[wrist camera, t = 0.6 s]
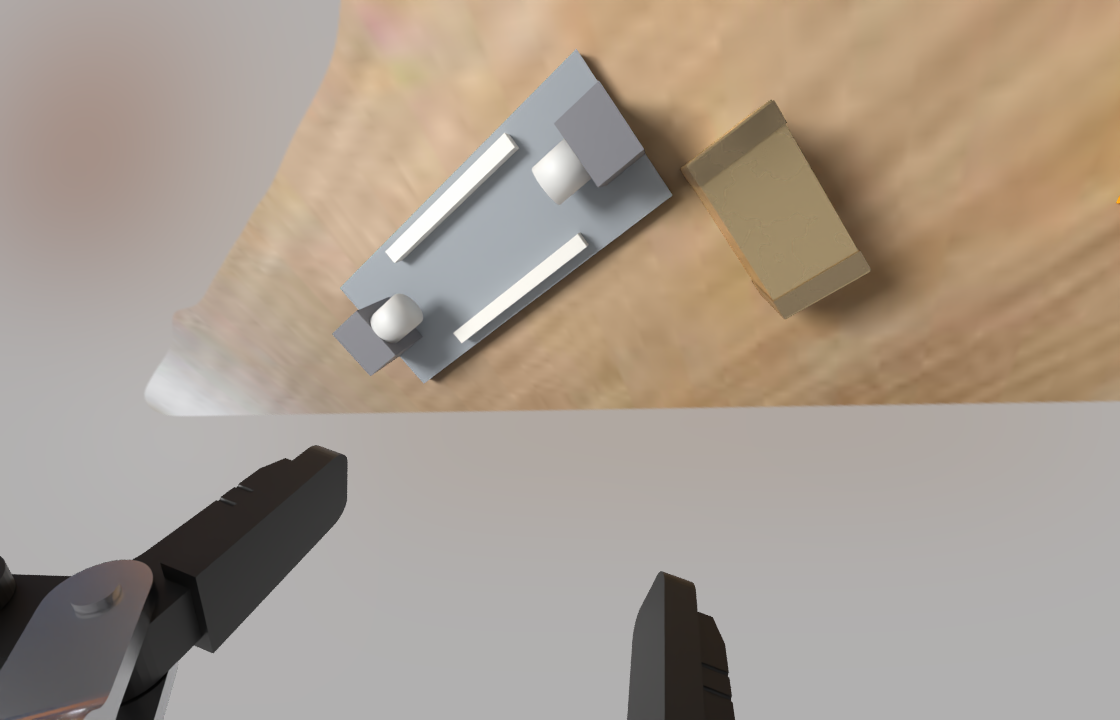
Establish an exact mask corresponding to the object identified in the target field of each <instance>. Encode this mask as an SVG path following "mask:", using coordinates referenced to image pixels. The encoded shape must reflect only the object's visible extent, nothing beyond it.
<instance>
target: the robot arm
mask: <svg viewBox="0 0 1120 720" xmlns="http://www.w3.org/2000/svg"><path fill="white" fill-rule="evenodd" d="M346 502H347V457H346V456H345V455H343V454H340V453H337V452H335V451H332V450H329V449H326V448H324V447H321V446H317V445H315V446H312V447H310V448H308V449H307V450H305V451H304V452H303V453H302V454H300V455H299V456H298V457H296V458H295V459H294V460H292V461H291V460H289V459H286V458H285V459H283V460H280V461H277V462H275V463H272V464H270V465H268V466H265V467H262V468H260V469H259V470H257V471H256V472H255V473H253V474H252V475H250V476H249V477H248V478H246V479H245V480H243V481H242V482H241V483H239V485H238V487H237V488H235V487H234V488H233V489H231V490H230V491H228V492H227V493H226V494H224V495H223V496H221V498H220V500H219V501H215V502H213V503H212V504H211V505H209V506H208V507H206V508H205V509H204V510H202V511H201V512H199V513H198V514H197V515H195V516H194V517H193V518H191V519H190V520H189V521H187V522H186V523H185V524H183V525H182V526H180V527H179V528H178V529H176V530H175V531H173V532H172V533H171V534H169V535H168V536H167V537H165V538H164V539H163V540H161V541H160V542H158V543H157V544H156V545H154V546H153V547H151V548H150V549H149V550H147V551H146V552H144V553H143V554H142V555H140V556H138V557H136V558H135V559H133V560H115V561H109V562H105V563H101V564H98V565H95V566H92V567H90V568H87V569H85V570H83V571H81V572H79V573H76V574H75V575H73V576H46V575H16V574H11V572H10V570H9V568H8V567H7V565H6V563H5V561H4V559H3V558H2V557H1V556H0V720H163V719H164V715H165V711H166V708H167V704H168V701H169V697H170V694H171V690H172V687H173V683H174V680H175V676H176V673H177V669H178V661H179V660H180V659H181V658H182V657H183V656H184V655H185V654H186V653H187V651H189V650H190V649H191V648H192V646H194V645H195V646H197V647H200V648H202V649H204V650H206V651H209V652H211V653H214V652H215V651H216V650H217V649H218V648H219V647H220V646H221V645H222V643H223V642H224V641H225V640H226V639H227V638H228V637H229V636H230V635H231V634H232V633H233V632H234V631H235V630H236V629H237V628H238V626H239V625H240V624H241V623H242V622H243V621H244V620H245V619H246V618H247V617H248V616H249V615H250V614H251V613H252V612H253V611H254V609H255V608H256V607H257V606H258V605H259V604H260V603H261V602H262V601H263V600H264V599H265V598H266V597H267V596H268V595H269V594H270V592H271V591H272V590H273V589H274V588H275V587H276V586H277V585H278V584H279V583H280V582H281V581H282V580H283V579H284V577H285V576H286V575H287V574H288V573H289V572H290V571H291V570H292V569H293V568H294V567H295V566H296V565H297V564H298V563H299V562H300V561H301V560H302V558H303V557H304V556H305V555H306V554H307V553H308V552H309V551H310V550H311V549H312V548H313V547H314V546H315V545H316V544H317V542H318V541H319V540H320V539H321V538H322V537H323V536H324V535H325V534H326V533H327V532H328V531H329V530H330V529H331V528H332V527H333V525H334V524H335V523H336V522H337V521H338V519H339V518H340V516H341V514H342V513H343V510H344V508H345V505H346ZM728 673H729V672H728V663H727V657H726V648H725V643H724V641H723V639H722V637H721V634H720V632H719V630H718V628H717V626H716V624H715V621H714V619H713V617H711V616H708V615H705V614H703V613H700V612H697V600H696V589H695V585H694V583H692V582H690V581H687V580H685V579H682V578H679V577H676V576H673V575H670V574H668V573H665V572H662V571H661V572H659V573H658V575H657V577H656V579H655V581H654V583H653V585H652V587H651V589H650V590H649V592H648V594H647V596H646V598H645V600H644V602H643V604H642V606H641V608H640V610H639V613H638V615H637V619H636V622H635V627H634V632H633V641H632V657H631V671H630V686H629V702H628V716H627V720H735V717H734V709H733V703H732V702H731V697H732V694H731V686H730V679H729V678H728Z"/></svg>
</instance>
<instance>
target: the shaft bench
mask: <svg viewBox="0 0 1120 720" xmlns="http://www.w3.org/2000/svg"><path fill="white" fill-rule="evenodd" d="M671 196H672V194H671V192H670V191H669V189H668V188H667V186H666V185H665V183H664V181H663V180H662V178H661V177H660V175H659V174H658V172H657V171H656V169H655V168H654V166H653V165H652V163H651V162H650V160H649V159H648V157H647V156H646V154H645V151H644V148H643V147H642V145H641V144H640V142H639V141H638V139H637V138H636V136H635V134H634V133H633V131H632V130H631V128H630V127H629V125H628V124H627V122H626V121H625V119H624V118H623V116H622V115H621V113H620V112H619V110H618V109H617V107H616V106H615V104H614V102H613V101H612V99H611V98H610V96H609V95H608V93H607V92H606V90H605V89H604V87H603V86H602V84H601V83H600V81H597V79H596V78H595V76H594V75H593V73H592V72H591V70H590V69H589V67H588V66H587V64H586V63H585V61H584V60H583V58H582V57H581V55H580V54H579V52H578V51H577V49H576V50H575V51H574V52H573V53H572V54H571V55H570V56H569V57H568V58H567V59H566V60H565V61H564V62H563V63H562V64H561V65H560V66H559V67H558V68H557V69H556V70H555V71H554V72H553V73H552V74H551V75H550V76H549V77H548V78H547V79H546V80H545V81H544V82H543V83H542V84H541V85H540V86H539V87H538V88H537V89H536V90H535V91H534V92H533V93H532V94H531V95H530V96H529V97H528V98H527V99H526V100H525V101H524V102H523V103H522V104H521V105H520V106H519V107H518V108H517V109H516V110H515V111H514V112H513V113H512V114H511V115H510V116H509V118H508V119H507V120H506V121H505V122H504V123H503V124H502V125H501V126H500V127H499V128H498V129H497V130H496V131H495V132H494V133H493V134H492V135H491V136H490V137H489V138H488V139H487V140H486V141H485V142H484V143H483V144H482V145H481V146H480V147H479V148H478V149H477V150H476V151H475V152H474V153H473V154H472V155H471V156H470V157H469V158H468V159H467V160H466V161H465V162H464V163H463V164H462V165H461V166H460V167H459V168H458V169H457V170H456V171H455V172H454V173H453V174H452V175H451V176H450V177H449V178H448V179H447V180H446V181H445V182H444V183H443V184H442V185H441V186H440V187H439V188H438V189H437V190H436V191H435V192H434V193H433V194H432V195H431V196H430V197H429V198H428V199H427V200H426V201H425V202H424V203H423V204H422V205H421V206H420V208H419V209H418V210H417V211H416V212H415V213H414V214H413V215H412V216H411V217H410V218H409V219H408V220H407V221H406V222H405V223H404V224H403V225H402V226H401V227H400V228H399V229H398V230H397V231H396V232H395V233H394V234H393V235H392V236H391V237H390V238H389V239H388V240H387V241H386V242H385V243H384V244H383V245H382V246H381V247H380V248H379V249H378V250H377V251H376V252H375V253H374V254H373V255H372V256H371V257H370V258H369V259H368V260H367V261H366V262H365V263H364V264H363V265H362V266H361V267H360V268H359V269H358V270H357V271H356V272H355V273H354V274H353V275H352V276H351V277H350V278H349V279H348V280H347V281H346V282H345V283H344V284H343V285H342V286H341V287H340V289H341V290H342V291H343V292H344V293H345V295H346V296H347V297H348V298H349V299H350V300H351V301H352V302H353V304H354V305H355V306H356V307H357V308H358V309H359V310H357V311H356V312H355V313H354V314H353V315H351V316H350V317H349V318H348V319H347V320H346V321H345V322H344V323H343V324H342V325H341V326H340V327H339V328H338V329H337V330H336V331H335V332H334V333H333V335H334V337H335V338H336V339H337V340H338V341H339V342H340V343H341V344H342V345H343V346H344V348H345V349H346V350H347V351H348V352H349V353H350V354H351V355H352V356H353V357H354V359H355V360H356V361H357V362H358V363H359V364H360V365H361V366H362V367H363V368H364V370H365V371H366V372H367V373H368V374H369V375H370V376H371V375H373V374H374V373H376V372H377V371H379V370H380V369H382V368H383V367H384V366H386V365H387V364H389V363H390V362H392V361H393V360H395V359H396V358H398V357H399V356H400V357H401V358H402V359H403V360H404V362H405V363H406V364H407V365H408V366H409V367H410V368H411V370H412V371H413V372H414V373H415V374H416V375H417V376H418V378H419V379H420V380H421V381H422V382H423V383H425V382H427V381H428V380H429V379H431V378H432V377H433V376H435V375H436V374H437V373H439V372H440V371H441V370H443V369H444V368H445V367H446V366H448V365H449V364H450V363H452V362H453V361H454V360H456V359H457V358H458V357H460V356H461V355H462V354H464V353H465V352H466V351H468V350H469V349H470V348H472V347H473V346H474V345H476V344H477V343H478V342H480V341H481V340H482V339H483V338H485V337H486V336H487V335H489V334H490V333H491V332H493V331H494V330H495V329H497V328H498V327H499V326H501V325H502V324H503V323H505V322H506V321H507V320H509V319H510V318H511V317H513V316H514V315H515V314H517V313H518V312H519V311H520V310H522V309H523V308H524V307H526V306H527V305H528V304H530V303H531V302H532V301H534V300H535V299H536V298H538V297H539V296H540V295H542V294H543V293H544V292H546V291H547V290H548V289H550V288H551V287H552V286H554V285H555V284H556V283H557V282H559V281H560V280H561V279H563V278H564V277H565V276H567V275H568V274H569V273H571V272H572V271H573V270H575V269H576V268H577V267H579V266H580V265H581V264H583V263H584V262H585V261H587V260H588V259H589V258H590V257H592V256H593V255H594V254H596V253H597V252H598V251H600V250H601V249H602V248H604V247H605V246H606V245H608V244H609V243H610V242H612V241H613V240H614V239H616V238H617V237H618V236H620V235H621V234H622V233H624V232H625V231H626V230H627V229H629V228H630V227H631V226H633V225H634V224H635V223H637V222H638V221H639V220H641V219H642V218H643V217H645V216H646V215H647V214H649V213H650V212H651V211H653V210H654V209H655V208H657V207H658V206H659V205H661V204H662V203H663V202H664V201H666V200H667V199H668V198H670V197H671Z"/></svg>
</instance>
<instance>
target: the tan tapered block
mask: <svg viewBox="0 0 1120 720" xmlns="http://www.w3.org/2000/svg"><path fill="white" fill-rule="evenodd" d="M786 123H787V122H786V120H785V118H784V117H783V115H782V113H781V111H780V110H779V108H778V106H777V104H776V103H775V101H774V100H773V101H772V100H770V101H768V102H767V103H765V104H764V105H763V106H761V107H760V108H758V109H757V110H755V111H754V112H753V113H751V114H750V115H748V116H747V117H746V118H744V119H743V120H742V121H741V122H739V123H738V124H737V125H735V126H734V127H733V128H732V129H730V130H729V131H728V132H726V133H725V134H724V135H723V136H721V137H720V138H719V139H717V140H716V141H715V142H714V143H712V144H711V145H710V146H708V147H707V148H706V149H705V150H703V151H702V152H701V153H699V154H698V155H697V156H696V157H694V158H693V159H692V160H690V161H689V162H688V163H687V164H685V165H684V166H683V167H681V172H682V173H683V175H684V176H685V178H686V179H687V181H688V183H689V184H690V186H692V187H693V189H694V190H695V192H696V193H697V195H698V196H699V198H700V200H701V201H702V203H703V204H704V206H705V207H706V209H707V210H708V212H709V214H710V215H711V217H712V218H713V220H714V221H715V223H716V224H717V226H718V228H719V229H720V231H721V232H722V234H723V235H724V237H725V238H726V240H727V242H728V243H729V245H730V246H731V248H732V249H733V251H734V252H735V254H736V256H737V257H738V259H739V260H740V262H741V263H742V265H743V266H744V268H745V270H746V271H747V273H748V274H749V276H750V277H751V279H752V282H753V283H754V285H755V287H756V288H757V290H758V291H759V293H760V294H761V296H762V297H763V298H764V299H765V300H766V301H767V302H768V303H769V304H770V305H771V306H772V307H773V308H774V309H775V310H776V311H777V312H778V313H779V314H780V315H781V316H782V317H783V318H784V319H787V318H789V317H791V316H792V315H794V314H796V313H798V312H800V311H801V310H803V309H805V308H807V307H808V306H810V305H812V304H814V303H816V302H817V301H819V300H821V299H823V298H824V297H826V296H828V295H830V294H832V293H833V292H835V291H837V290H839V289H840V288H842V287H844V286H846V285H848V284H849V283H851V282H853V281H855V280H857V279H858V278H860V277H862V276H864V275H865V274H867V273H869V272H870V270H871V268H870V267H869V265H868V263H867V261H866V260H865V258H864V256H863V254H862V253H861V251H860V250H858V249H857V248H856V246H855V244H854V242H853V241H852V239H851V237H850V235H849V234H848V232H847V230H846V228H845V227H844V225H843V223H842V221H841V220H840V218H839V216H838V214H837V213H836V211H835V209H834V207H833V206H832V204H831V202H830V201H829V199H828V197H827V195H826V194H825V192H824V190H823V188H822V187H821V185H820V183H819V181H818V180H817V178H816V176H815V174H814V173H813V171H812V169H811V167H810V166H809V164H808V162H807V160H806V159H805V157H804V155H803V154H802V152H801V150H800V148H799V147H798V145H797V143H796V141H795V140H794V138H793V136H792V134H791V133H790V131H789V129H788V127H787V126H786Z"/></svg>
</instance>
